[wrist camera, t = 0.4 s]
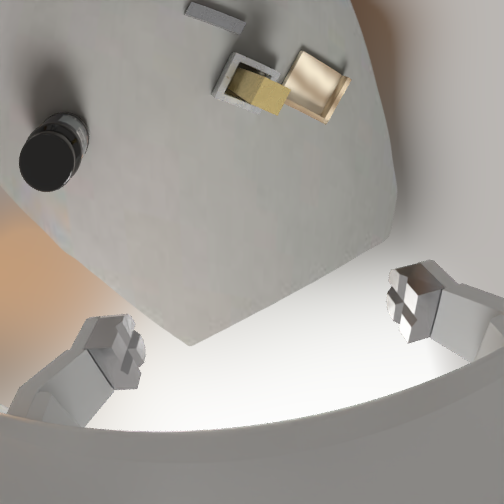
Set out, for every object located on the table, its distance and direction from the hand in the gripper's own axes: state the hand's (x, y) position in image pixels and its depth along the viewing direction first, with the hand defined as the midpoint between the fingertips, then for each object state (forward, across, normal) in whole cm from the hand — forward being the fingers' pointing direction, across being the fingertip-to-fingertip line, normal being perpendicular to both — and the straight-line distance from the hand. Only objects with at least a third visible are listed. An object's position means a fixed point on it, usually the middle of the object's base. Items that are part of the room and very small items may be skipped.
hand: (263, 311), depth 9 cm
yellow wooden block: (+49, -3, -11) cm, 50 cm away
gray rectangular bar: (+45, 0, -23) cm, 51 cm away
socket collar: (+49, -3, -11) cm, 50 cm away
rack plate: (+52, -16, -9) cm, 56 cm away
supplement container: (+43, +30, -9) cm, 53 cm away
